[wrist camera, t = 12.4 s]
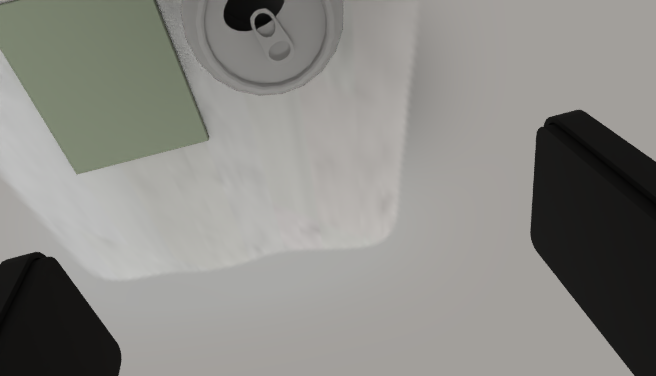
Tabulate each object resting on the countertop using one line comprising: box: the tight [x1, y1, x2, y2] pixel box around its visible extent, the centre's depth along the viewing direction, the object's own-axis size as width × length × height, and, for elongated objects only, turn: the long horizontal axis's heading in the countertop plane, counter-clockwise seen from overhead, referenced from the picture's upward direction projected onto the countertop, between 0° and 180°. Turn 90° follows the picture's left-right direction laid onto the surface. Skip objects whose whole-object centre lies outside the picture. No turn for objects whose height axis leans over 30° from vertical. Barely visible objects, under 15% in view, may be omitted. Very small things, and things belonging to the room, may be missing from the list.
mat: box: [0, 0, 209, 174], centre depth 33 cm, size 12×10×1 cm
